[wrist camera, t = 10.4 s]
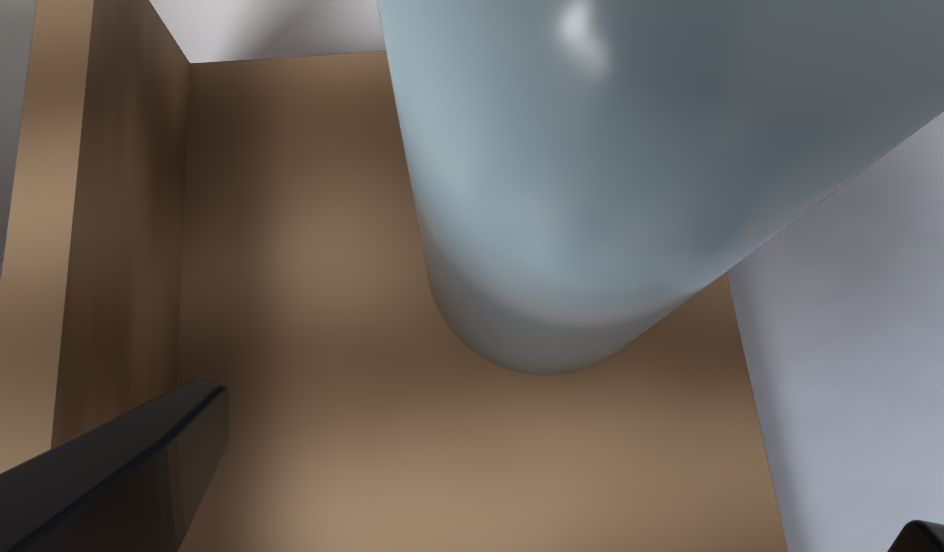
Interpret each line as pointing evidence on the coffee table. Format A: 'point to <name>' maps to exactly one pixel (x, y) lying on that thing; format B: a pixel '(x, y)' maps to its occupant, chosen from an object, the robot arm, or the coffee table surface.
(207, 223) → the shelf
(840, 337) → the coffee table surface
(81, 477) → the robot arm
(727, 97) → the frosted glass cup
